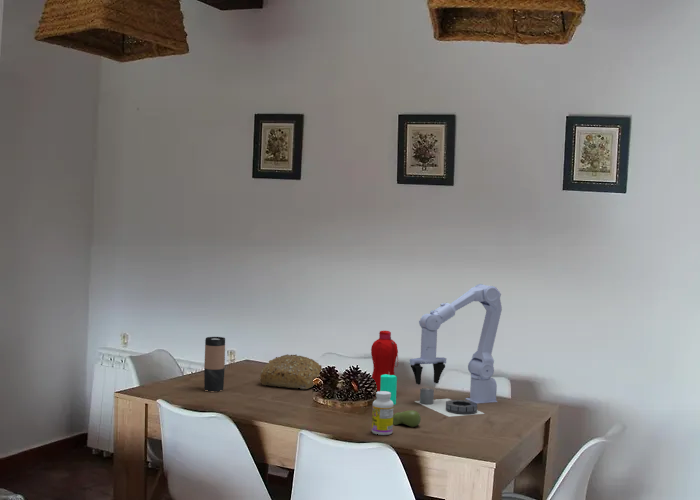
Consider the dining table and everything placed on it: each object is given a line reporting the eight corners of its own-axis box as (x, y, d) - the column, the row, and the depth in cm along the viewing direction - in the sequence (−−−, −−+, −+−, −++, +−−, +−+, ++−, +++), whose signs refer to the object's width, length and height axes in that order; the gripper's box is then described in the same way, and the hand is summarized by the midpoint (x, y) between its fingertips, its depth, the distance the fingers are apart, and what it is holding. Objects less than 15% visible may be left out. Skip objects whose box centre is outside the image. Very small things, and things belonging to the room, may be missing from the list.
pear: (415, 412, 256) (387, 412, 261) (417, 428, 256) (389, 429, 261) (422, 408, 261) (394, 409, 266) (424, 424, 261) (396, 425, 266)
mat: (448, 399, 301) (448, 398, 301) (485, 414, 279) (485, 413, 279) (414, 402, 294) (414, 401, 294) (448, 417, 273) (448, 416, 273)
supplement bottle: (370, 429, 253) (371, 390, 253) (391, 430, 254) (392, 390, 254) (372, 435, 247) (374, 394, 246) (393, 435, 247) (395, 395, 247)
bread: (254, 387, 312) (255, 356, 312) (275, 377, 333) (276, 348, 332) (312, 393, 305) (313, 362, 304) (330, 382, 325) (331, 353, 325)
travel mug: (228, 390, 304) (229, 338, 303) (214, 393, 298) (216, 340, 297) (213, 387, 308) (214, 336, 307) (199, 390, 302) (200, 338, 301)
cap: (428, 401, 295) (429, 387, 295) (435, 404, 291) (436, 390, 291) (417, 402, 293) (417, 388, 293) (424, 405, 289) (424, 390, 288)
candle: (394, 406, 286) (396, 373, 286) (378, 405, 287) (379, 372, 287) (397, 403, 292) (398, 370, 292) (381, 401, 293) (382, 369, 293)
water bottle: (389, 400, 296) (392, 333, 295) (365, 395, 302) (368, 330, 301) (403, 396, 303) (405, 331, 302) (379, 392, 310) (382, 328, 309)
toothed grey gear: (465, 406, 289) (465, 399, 289) (483, 413, 279) (483, 405, 279) (439, 408, 285) (440, 401, 284) (456, 415, 275) (456, 408, 274)
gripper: (439, 344, 298) (438, 380, 298) (406, 345, 292) (404, 382, 292) (450, 347, 292) (448, 384, 292) (415, 348, 285) (414, 386, 286)
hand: (427, 383), depth 292 cm, fingers open, 7 cm apart
